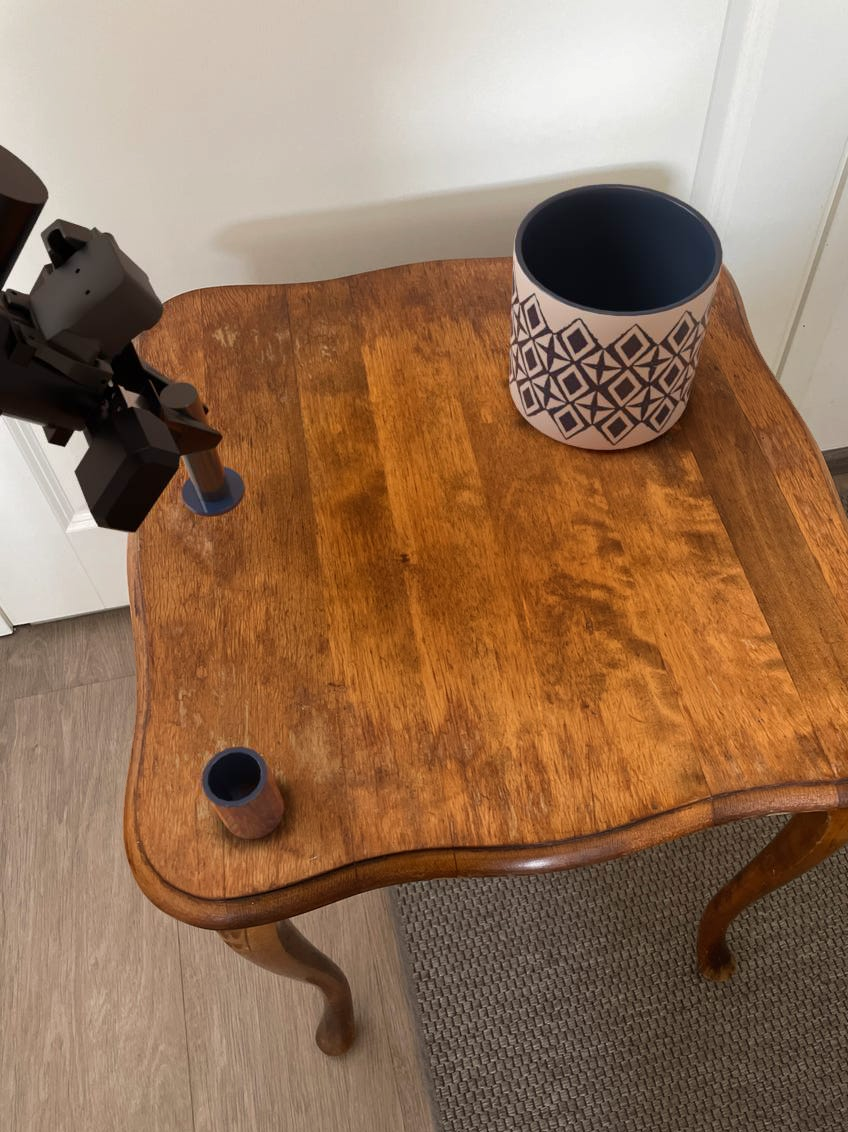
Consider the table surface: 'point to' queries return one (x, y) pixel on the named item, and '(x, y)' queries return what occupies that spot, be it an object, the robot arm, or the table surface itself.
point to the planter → (609, 313)
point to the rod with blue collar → (203, 461)
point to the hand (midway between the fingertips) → (212, 427)
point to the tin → (243, 792)
